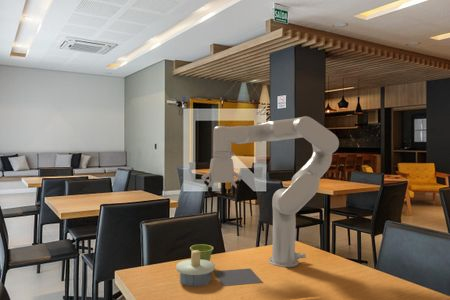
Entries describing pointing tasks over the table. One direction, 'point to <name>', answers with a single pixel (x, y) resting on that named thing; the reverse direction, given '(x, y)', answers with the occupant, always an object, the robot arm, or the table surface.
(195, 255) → the lid
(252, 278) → the mat
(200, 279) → the bowl
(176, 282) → the table surface
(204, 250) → the plant pot
